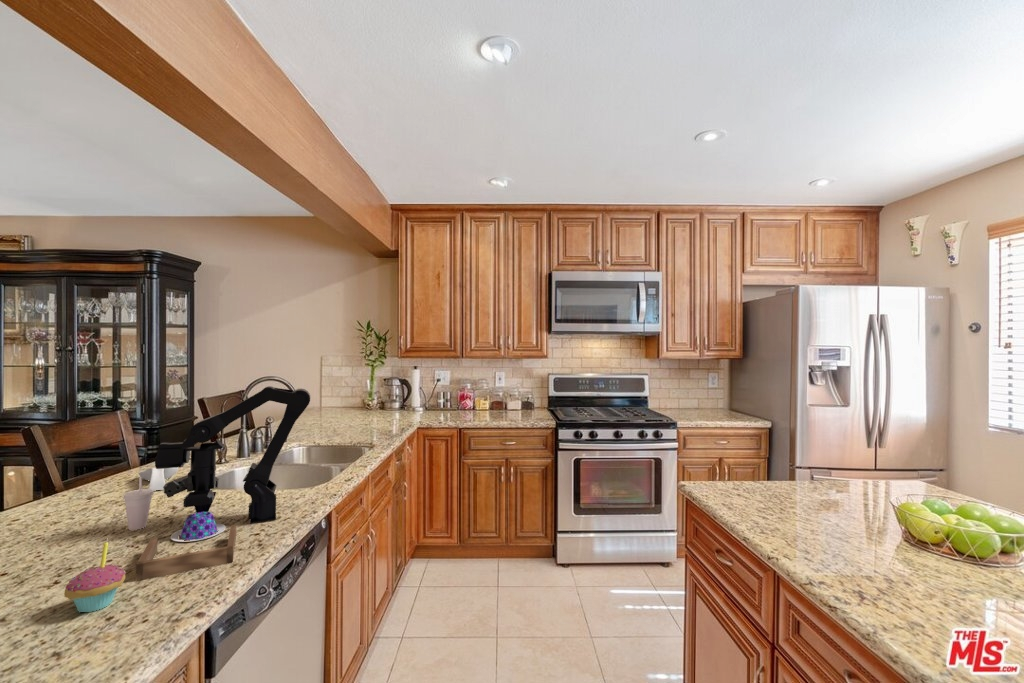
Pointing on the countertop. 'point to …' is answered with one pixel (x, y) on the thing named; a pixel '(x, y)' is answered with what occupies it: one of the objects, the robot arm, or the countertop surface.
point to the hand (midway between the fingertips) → (201, 521)
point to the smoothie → (138, 506)
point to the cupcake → (95, 585)
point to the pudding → (198, 527)
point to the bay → (183, 559)
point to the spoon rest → (157, 477)
